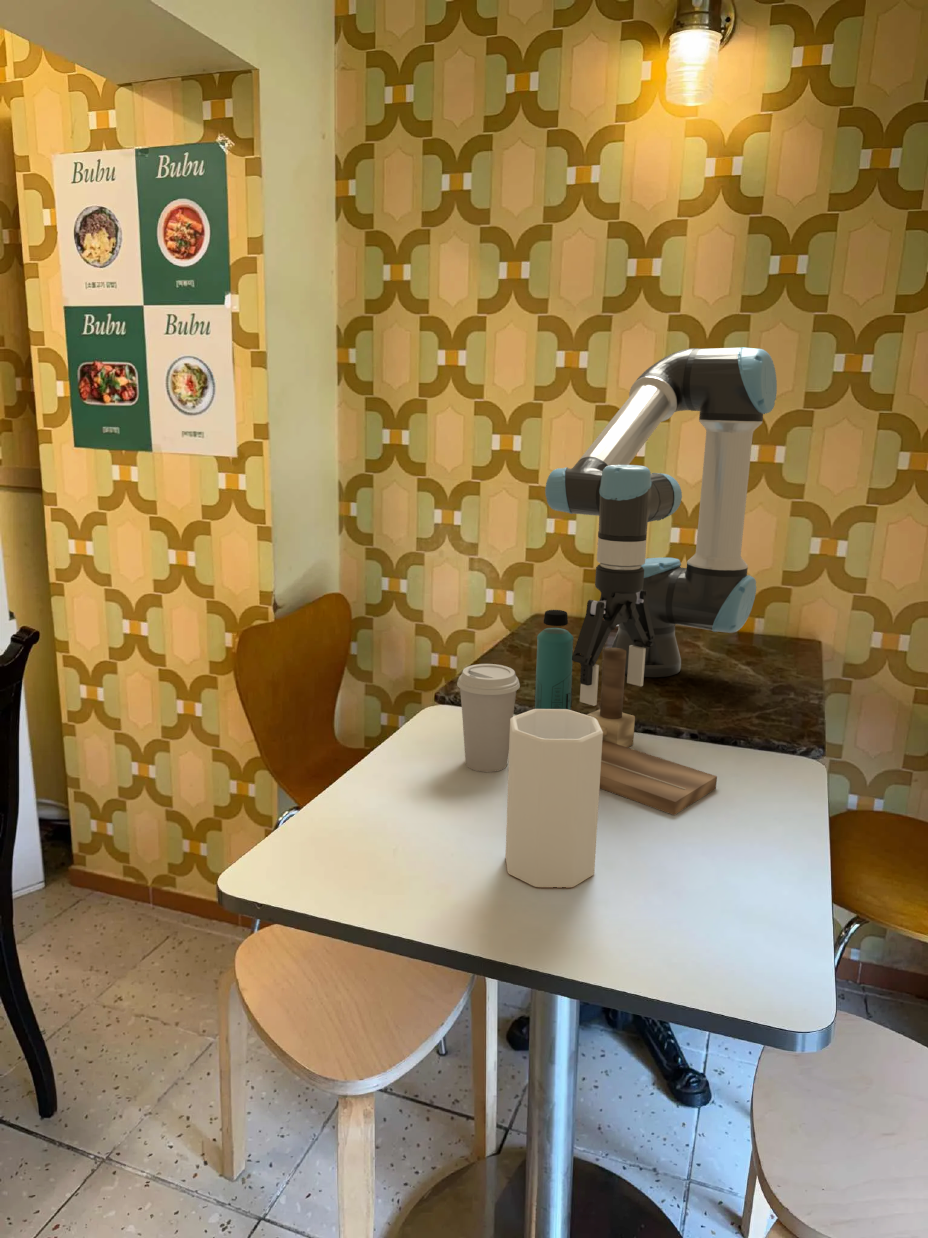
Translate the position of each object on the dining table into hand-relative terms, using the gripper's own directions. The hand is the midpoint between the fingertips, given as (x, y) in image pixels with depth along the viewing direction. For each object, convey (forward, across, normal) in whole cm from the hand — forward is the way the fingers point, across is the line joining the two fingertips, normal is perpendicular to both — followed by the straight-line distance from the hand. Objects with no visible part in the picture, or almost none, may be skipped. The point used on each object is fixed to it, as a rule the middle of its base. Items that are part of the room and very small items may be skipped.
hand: (612, 693), depth 147 cm
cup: (+9, +38, +17) cm, 43 cm away
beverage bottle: (+9, -2, -13) cm, 16 cm away
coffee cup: (+9, +20, -9) cm, 24 cm away
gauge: (+9, +5, 0) cm, 10 cm away
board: (+9, +10, +8) cm, 15 cm away
